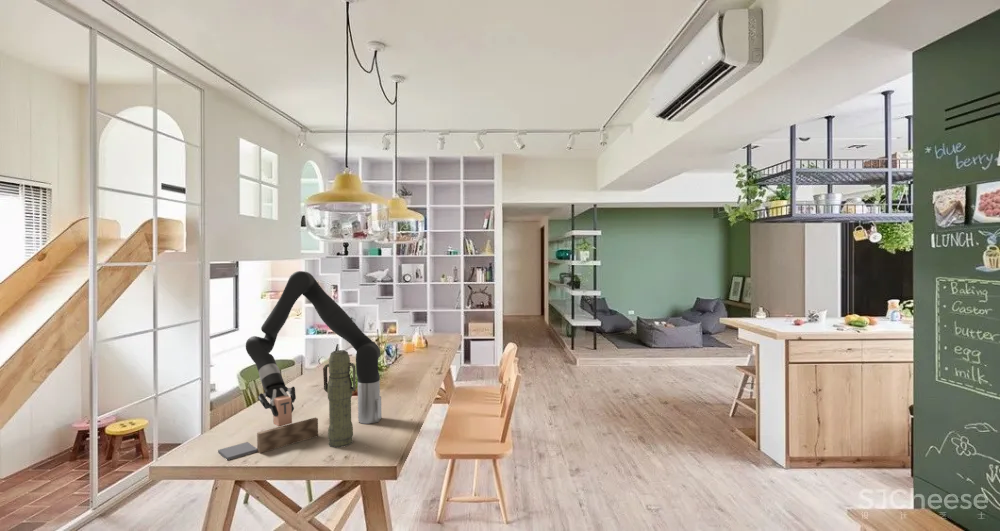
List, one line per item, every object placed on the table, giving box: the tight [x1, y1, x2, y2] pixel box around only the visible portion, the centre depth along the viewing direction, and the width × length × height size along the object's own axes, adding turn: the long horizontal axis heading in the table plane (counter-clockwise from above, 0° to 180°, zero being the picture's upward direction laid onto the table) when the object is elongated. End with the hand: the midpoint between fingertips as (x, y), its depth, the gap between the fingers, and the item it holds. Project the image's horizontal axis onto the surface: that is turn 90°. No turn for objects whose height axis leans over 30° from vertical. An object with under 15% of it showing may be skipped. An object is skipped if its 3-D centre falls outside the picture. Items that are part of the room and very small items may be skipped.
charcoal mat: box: [217, 441, 259, 461], centre depth 173 cm, size 10×10×1 cm
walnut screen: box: [256, 416, 319, 454], centre depth 180 cm, size 22×2×7 cm, turn 137°
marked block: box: [272, 396, 293, 427], centre depth 184 cm, size 5×5×10 cm
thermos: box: [322, 349, 357, 448], centre depth 180 cm, size 9×12×35 cm
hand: (284, 413), depth 183 cm, fingers closed on marked block, 5 cm apart
